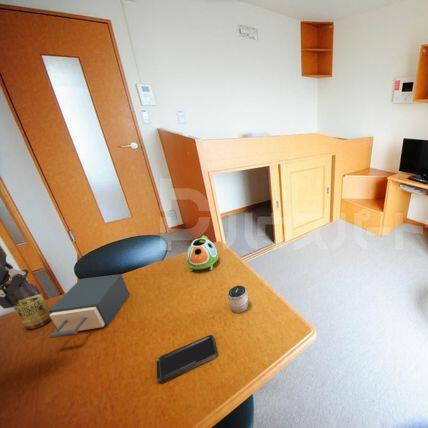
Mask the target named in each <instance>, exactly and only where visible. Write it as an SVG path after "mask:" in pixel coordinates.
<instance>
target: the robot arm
mask: <svg viewBox="0 0 428 428" xmlns="http://www.w3.org/2000/svg"><path fill="white" fill-rule="evenodd" d="M7 255H8V254H7V253H6V251H5V250H4V247H2V246H1V244H0V307H1V308H2V309H11V308H13V307H14V306H15V305H16V304H17V303H18V302H19V298H18V297H17V296H16V294H15V293H14V292H15V291H16V290H17V289H18V288H20V287H21V286H22V285H23V283H24V281H25V279H27V277H28V275H29V273H30V271H29V269H26V268H25V269H21V270H22V271H19V270H20V269H15V268H14V266H13V265H12V264H11V263H9V262H8V261H7V257H8V256H7Z"/></svg>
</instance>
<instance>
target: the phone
mask: <svg viewBox="0 0 428 428" xmlns="http://www.w3.org/2000/svg"><path fill="white" fill-rule="evenodd" d="M218 355H219V353H218V349H217V344H216V341H215V337H214V335H213V334H208V335H206V336H204V337H202V338H200V339H197V340H195V341H193V342H190V343H188V344H185V345H182V346H180V347H179V348H176V349H174V350H172V351H169V352H167V353H164V354H162V355H160V356H159V357H158V358H157V359H156V380H157V382H158V384H164V383H166V382H168V381H170V380H172V379H174V378H177V377H178V376H181V375H183V374H185V373H187V372H189V371H191V370H192V369H195V368H197V367H199V366H202V365H203V364H205V363H208V362H211V360H213V359H216V358H217V357H218Z"/></svg>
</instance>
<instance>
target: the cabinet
mask: <svg viewBox="0 0 428 428" xmlns="http://www.w3.org/2000/svg"><path fill="white" fill-rule="evenodd" d="M129 296H130V291H129V289H128V287H127V285H126V282H125V280H124V278H123V275H122V274H121V273H120V274H112V275H102V276H94V277H93V276H92V277H85V278H80V279H79V280H78V281H77V282H75V284H74V285H72V287H71V288H70V289H69V290H68V291H67V292H66V293H65V294H64V295H63V296H61V298H60V299H59V300H58V301H56V302H55V304H54V305H53V306H52V307H51V308H50V310H49V312H50V314H51V313H53V312H60V311H64V310H72V309H79V308H86V307H93V306H95V307H96V308H97V310H98V312H99V314H100V315H101V317H102V319H103V321H104V323H105V325H104V326H103V327H106V326H107V327H108V326H109V325H111V322H112V321H113V319H114V318H115V316H116V315H117V314H118V312H119V311H120V309H121V307H122V306H123V305H124V303H125V301H126V300H127V298H128V297H129Z"/></svg>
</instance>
